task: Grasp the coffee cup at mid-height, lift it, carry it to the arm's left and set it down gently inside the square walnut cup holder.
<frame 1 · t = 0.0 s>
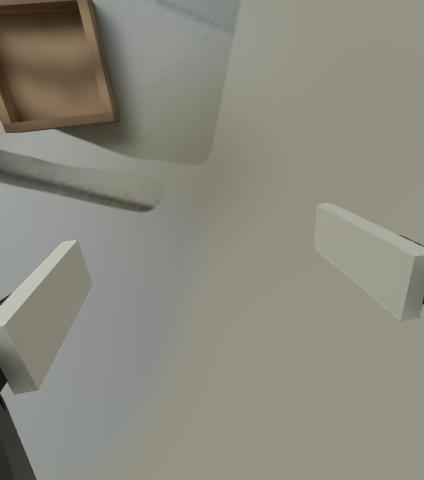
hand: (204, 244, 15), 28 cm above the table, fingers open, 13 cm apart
holder: (54, 71, 34), on the table
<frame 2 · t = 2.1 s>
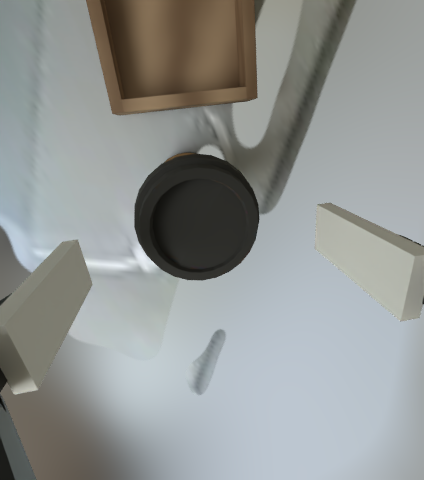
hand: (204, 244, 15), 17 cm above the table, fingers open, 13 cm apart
holder: (174, 29, 24), on the table
coffee cup: (186, 181, 30), on the table
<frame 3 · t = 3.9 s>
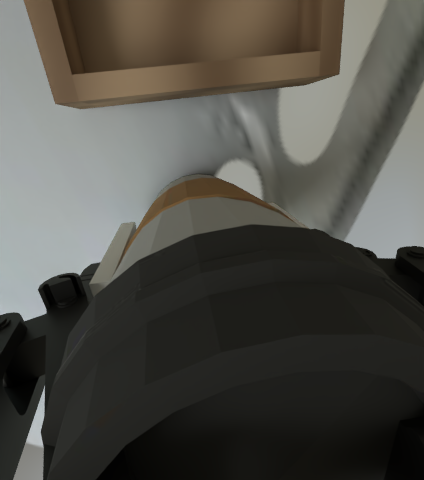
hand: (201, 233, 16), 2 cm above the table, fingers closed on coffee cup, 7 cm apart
coffee cup: (198, 219, 18), on the table, touching gripper
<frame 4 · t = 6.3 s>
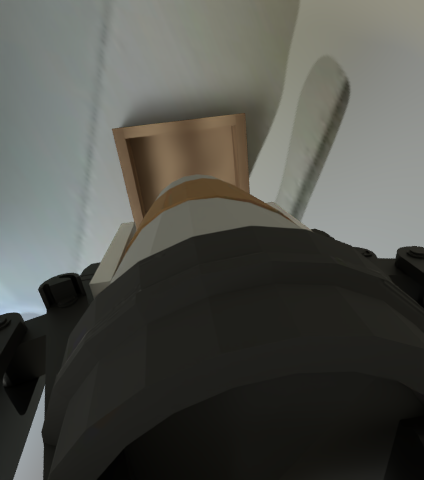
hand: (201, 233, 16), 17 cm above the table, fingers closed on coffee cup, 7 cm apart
holder: (187, 181, 32), on the table
coffee cup: (198, 219, 18), point 15 cm above the table, touching gripper
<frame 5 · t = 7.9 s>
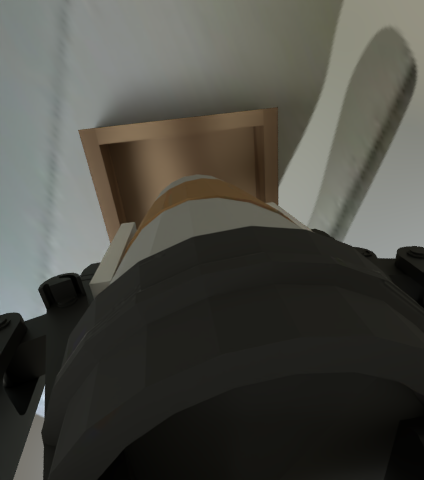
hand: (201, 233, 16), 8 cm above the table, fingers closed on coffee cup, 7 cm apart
holder: (191, 201, 23), on the table
coffee cup: (198, 219, 18), point 5 cm above the table, touching gripper
when the fingers open (5 cm above the table, at t = 8.9 s): coffee cup drops 2 cm, resting on holder.
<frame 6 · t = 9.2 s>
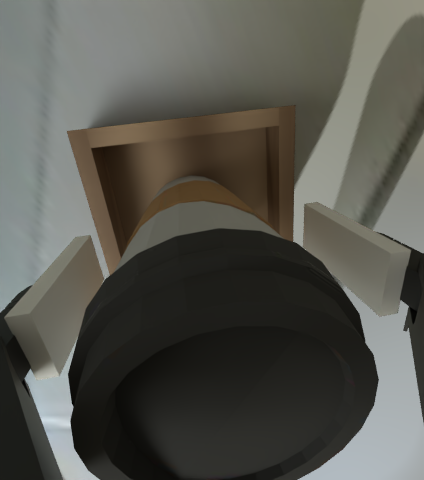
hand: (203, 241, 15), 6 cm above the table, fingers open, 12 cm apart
holder: (195, 210, 21), on the table
coffee cup: (192, 216, 20), point 1 cm above the table, touching holder
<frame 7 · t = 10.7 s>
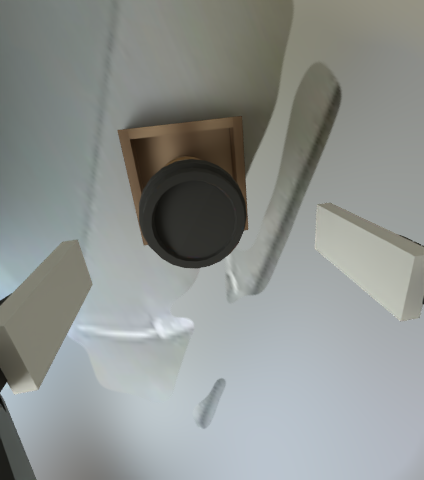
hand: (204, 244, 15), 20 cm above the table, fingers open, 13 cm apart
holder: (188, 179, 34), on the table
coffee cup: (186, 182, 33), point 1 cm above the table, touching holder
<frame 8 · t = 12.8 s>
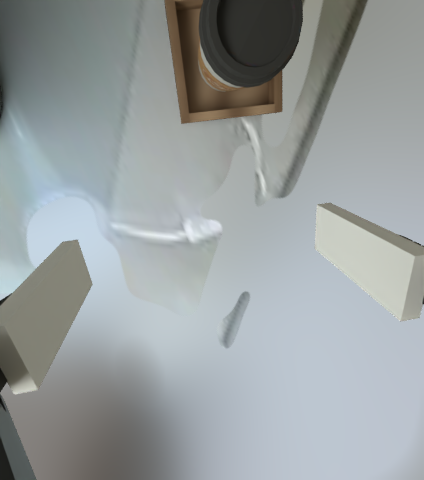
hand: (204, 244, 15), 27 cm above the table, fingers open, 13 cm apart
holder: (223, 63, 35), on the table
coffee cup: (222, 63, 34), point 1 cm above the table, touching holder
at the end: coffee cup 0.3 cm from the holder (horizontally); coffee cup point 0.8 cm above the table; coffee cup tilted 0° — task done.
